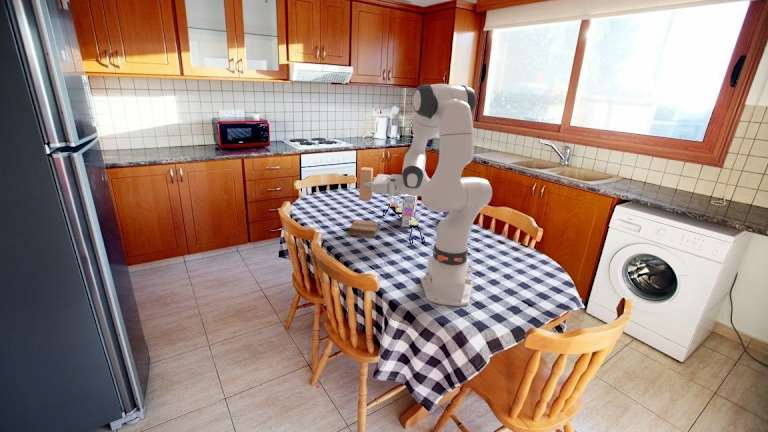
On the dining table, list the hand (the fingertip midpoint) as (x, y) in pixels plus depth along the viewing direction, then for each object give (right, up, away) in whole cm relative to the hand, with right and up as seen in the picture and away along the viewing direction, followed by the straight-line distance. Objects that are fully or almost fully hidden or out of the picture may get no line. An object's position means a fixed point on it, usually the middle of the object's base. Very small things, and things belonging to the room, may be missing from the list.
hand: (364, 181), depth 171 cm
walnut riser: (-1, -23, +9) cm, 25 cm away
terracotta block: (0, -8, +3) cm, 8 cm away
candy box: (+22, -20, +22) cm, 37 cm away
